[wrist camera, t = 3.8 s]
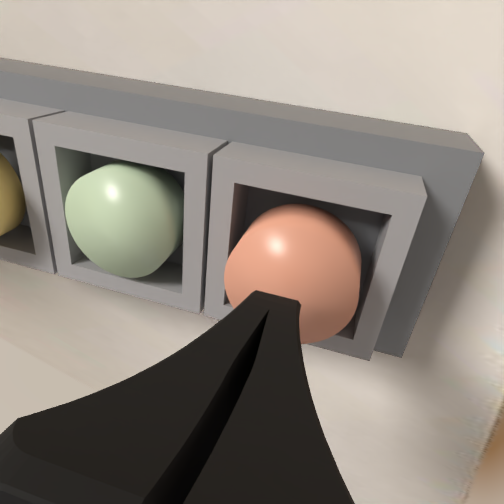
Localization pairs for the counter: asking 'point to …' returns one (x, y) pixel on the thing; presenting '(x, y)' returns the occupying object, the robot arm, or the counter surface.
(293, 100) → the counter surface
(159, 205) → the sage button
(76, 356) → the counter surface
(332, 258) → the salmon pink button
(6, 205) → the yellow rounded piece
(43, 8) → the counter surface
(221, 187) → the button panel
